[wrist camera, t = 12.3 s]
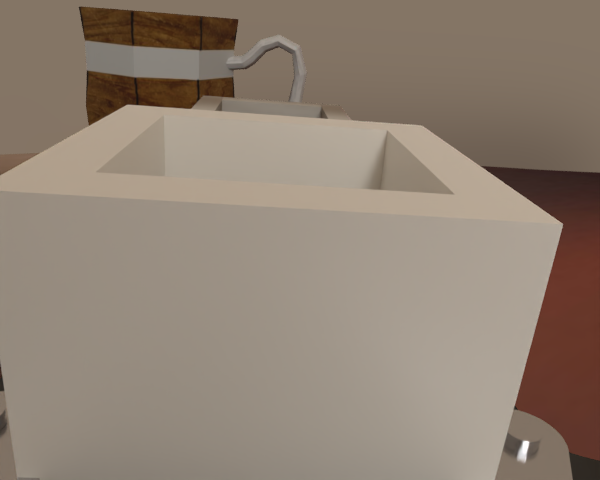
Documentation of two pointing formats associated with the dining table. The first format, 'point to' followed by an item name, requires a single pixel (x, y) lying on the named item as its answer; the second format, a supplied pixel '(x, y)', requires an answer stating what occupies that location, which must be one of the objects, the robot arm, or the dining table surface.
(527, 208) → the sleeve
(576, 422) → the dining table surface
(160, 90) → the mug
